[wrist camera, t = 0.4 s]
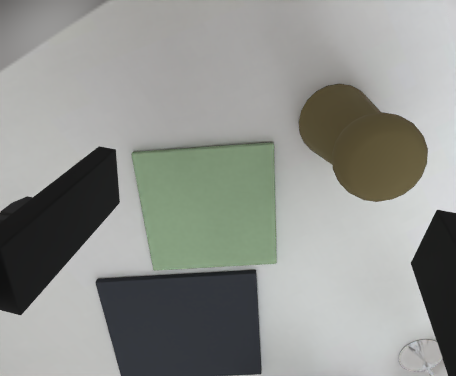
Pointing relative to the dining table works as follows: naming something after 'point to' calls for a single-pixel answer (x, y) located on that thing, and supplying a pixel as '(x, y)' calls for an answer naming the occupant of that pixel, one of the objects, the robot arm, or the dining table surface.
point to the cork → (363, 143)
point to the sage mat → (208, 205)
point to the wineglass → (420, 356)
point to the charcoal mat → (184, 323)
